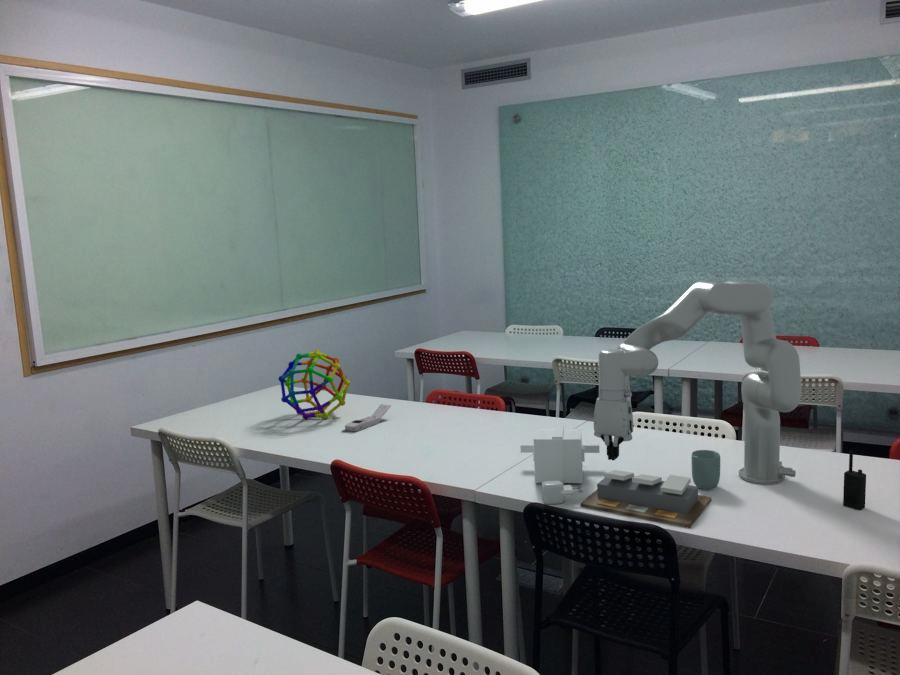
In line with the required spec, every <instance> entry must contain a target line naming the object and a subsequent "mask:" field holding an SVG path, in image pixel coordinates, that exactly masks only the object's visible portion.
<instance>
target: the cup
mask: <svg viewBox="0 0 900 675" xmlns="http://www.w3.org/2000/svg"><path fill="white" fill-rule="evenodd" d="M691 477H692V482H693V484H694V486H697V487H698V489H700V490H706V491H708V490H714V489H716V488H717V487H718V485H719V483H720V478H721V454H720V453H719V452H718V451H715V450H709V449H700V450H694V451H692V452H691Z"/></svg>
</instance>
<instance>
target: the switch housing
mask: <svg viewBox="0 0 900 675" xmlns="http://www.w3.org/2000/svg"><path fill="white" fill-rule="evenodd" d="M634 477H635V475H634ZM665 481H666V480H662V482H659V483H657V484H654V485H647V484H641V483H635V482H632V478H630V479H627V480H624V481H623V480H617V479H611V478H605V477H603V479H601V480H600V481H599V482H598V483H597V485H596V487H597V489H596V490H597V495H598V498H604V499H609V500H615V501H620V502H625V503H631V504H636V505H642V506H647V507H652V508H658V509H663V510H669V511H674V512H680V513H685V514H688V512H689V511H690V510H691V509H692V507H693V506H694V505H695V504H696V503H697V501H698V495H699V488H698V487H697V486H696V485H690V484H689V485H688V487H687V488H686V489H685V491H684V492H683V494H682V495H679V494H674V493H668V492H662V491H661V486H662V485H663V483H664V482H665Z"/></svg>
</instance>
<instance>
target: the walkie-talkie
mask: <svg viewBox="0 0 900 675" xmlns="http://www.w3.org/2000/svg"><path fill="white" fill-rule="evenodd" d="M848 457H849V458H848V470H846V471H845V472H844V473H843V494H842V497H843V498H842V499H843V500H842V502H843V503H842V505H843V507H845V508H850V509H854V510H856V511H861V510H864V509H865V508H866V493H867V492H866V490H867V487H866V486H867V474H866V473H863V470H862V469H860V468H859V469H857V471H856V470H853V463H854V462H853V461H854V460H853V459H854V458H853V457H854V451H853V450H849V456H848Z"/></svg>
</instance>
